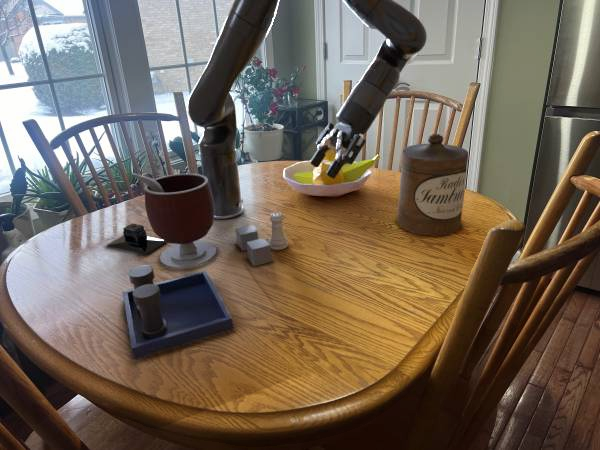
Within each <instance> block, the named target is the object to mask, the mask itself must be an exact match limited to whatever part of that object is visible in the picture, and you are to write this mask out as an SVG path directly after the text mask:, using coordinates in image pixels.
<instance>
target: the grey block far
mask: <svg viewBox="0 0 600 450" xmlns="http://www.w3.org/2000/svg"><path fill="white" fill-rule="evenodd" d="M234 231H235V238H236V245H237V246H238V247H239V249H240V250H241V251H242V252H243V251H247V243H246V242H250V241H254V240H258V239H259V233H258V230H257V229H256V228H255V226H254V225H252V224H250V225H245V226H240V227H236V228H235V230H234Z"/></svg>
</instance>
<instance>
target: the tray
mask: <svg viewBox="0 0 600 450" xmlns="http://www.w3.org/2000/svg"><path fill="white" fill-rule="evenodd" d="M154 284H155V285H157V286H158V287H159V290H160V295H161V298H160V300H159V301H160V304H161V312H162V317H163V320H165V321H166V323H167V328H168V330H167V332H166V334H165V335H163V336H162V337H158V338H155V339H152V340H150V339H145V338H144V337H143V335H142V331H141V327H142V325H143V324H142V319H141V315H139V314H138V312H137V305H136V304H135V302H134V298H133V291H134V290H135V288H131V289H127V290H124V291H122V293H121V294H122V299H123V304H124V310H125V317H126V322H127V328H128V334H129V340H130V341H129V342H130V346H131V351H132V354H133V359H134V360H136V359H141V358H142V357H146V356H150V355H152V354H156V353H159V352H162V351H165V350H169V349H171V348H175V347H179V346H182V345H184V344H188V343H191V342H194V341H198V340H200V339H204V338H207V337H211V336H214V335H217V334H220V333H224V332H227V331H231V330H234V323H233V318H232V316H231V314H230V312H229V310H228V308H227V306H226V305H225V303H224V301H223V299H222V297H221V296H220V294H219V292H218V290H217V288H216V286H215V284H214V283H213V281H212V279H211V277H210V275H209V274H208V272H207V270H202V271H199V272H194V273H190V274H187V275H183V276H179V277H176V278H171V279H167V280H162V281H159V282H154Z"/></svg>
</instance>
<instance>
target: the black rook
mask: <svg viewBox="0 0 600 450" xmlns="http://www.w3.org/2000/svg"><path fill="white" fill-rule="evenodd" d="M128 279H129V282H130V284H132V285H133V289H136V288H138V287H140V286H142V285H146V284H155V282H154V279H155V271H154V267H153V266H152V265H148V264H143V265H138V266H135V267H133V268H131V269H130V270H128ZM159 303H160V301H159ZM160 307H161V304H160ZM137 312H138V314H139V315H140V311H139V307H138V305H137Z"/></svg>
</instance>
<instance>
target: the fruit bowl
mask: <svg viewBox="0 0 600 450" xmlns="http://www.w3.org/2000/svg"><path fill="white" fill-rule="evenodd" d="M336 156H337V151H335V150H333V149H332V150H330V151H329V152H328V153H326V156H325V157H324V159H323V160H322V162H321V163H320V165H319V167H315V166H313V165H312V164H310V161H311V160H304V161H299V162H296V163H294V164H292V165H290V166H287V167H285V168H283V172H282V173H283V174H282V176H283V177H282V178H283V179H284V180H285V182H286V183H287V184H288V185H289V187H290V188H291V189H293V190H294V191H295V192H298V193H300V194H304V195H307V196H315V197H330V198H331V197H332V198H337V197H341V196H344V195H347V194H349V193H352V192H354V191H358V190H361V189H362V188H363V186H364V185H365V183H366V182H367V181H368V179H369V178H370V177H371V175H372V174H373V171H371V169H372V168H373V166H375V165H376V162H377V161H378V160H379V159H380V158H381V156H380V155H379V154H377V155H376V156H375V157H373V158H369V159H365V160H361V161H355V160H354V162H353V163H352V164H351V165H350V164H349V163H347V164H346V165H343V167H342V168H341V170H340V171H339V173H338V174H337V176H336V177H335V178H334V179H332V178H331V177H329V176H328V175H326V172H327V170H328V169H329V167H330V165H331V164H332V162H333V161H334V159H336ZM336 160H337V159H336Z"/></svg>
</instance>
